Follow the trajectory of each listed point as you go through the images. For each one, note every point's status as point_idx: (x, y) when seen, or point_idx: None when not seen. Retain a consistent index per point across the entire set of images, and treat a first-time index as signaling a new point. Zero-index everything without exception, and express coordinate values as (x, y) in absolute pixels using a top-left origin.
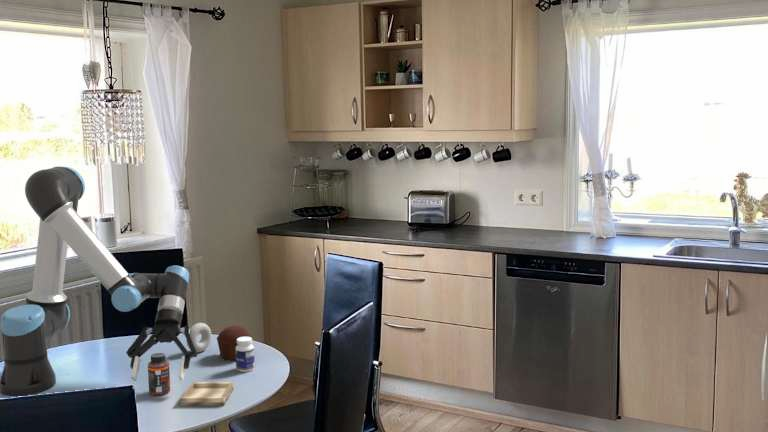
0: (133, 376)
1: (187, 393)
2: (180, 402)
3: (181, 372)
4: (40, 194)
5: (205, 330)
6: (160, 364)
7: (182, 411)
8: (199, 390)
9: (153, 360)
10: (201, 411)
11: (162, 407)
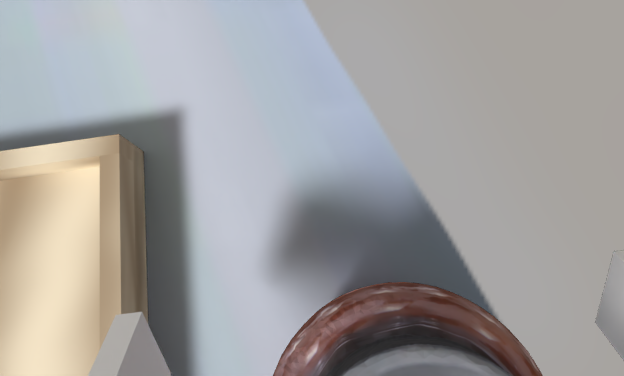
0: (617, 255)
1: (103, 242)
2: (133, 144)
3: (99, 350)
4: None
5: None
6: (326, 334)
7: (109, 81)
8: (62, 372)
9: (443, 338)
10: (3, 96)
11: (246, 117)
